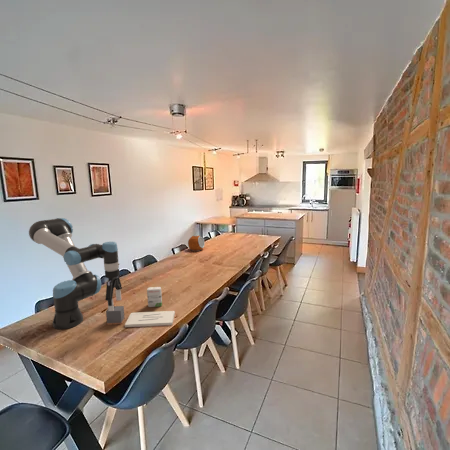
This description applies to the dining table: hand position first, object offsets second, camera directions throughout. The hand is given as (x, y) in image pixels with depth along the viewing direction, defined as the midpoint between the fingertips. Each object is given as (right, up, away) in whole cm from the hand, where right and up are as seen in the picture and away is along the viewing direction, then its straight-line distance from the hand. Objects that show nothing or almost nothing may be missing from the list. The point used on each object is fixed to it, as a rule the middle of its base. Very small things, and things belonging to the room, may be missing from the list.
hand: (115, 305), depth 158 cm
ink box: (+17, -7, +22) cm, 29 cm away
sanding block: (0, -10, +2) cm, 10 cm away
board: (+20, -9, +3) cm, 22 cm away
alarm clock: (+30, +17, +163) cm, 167 cm away
